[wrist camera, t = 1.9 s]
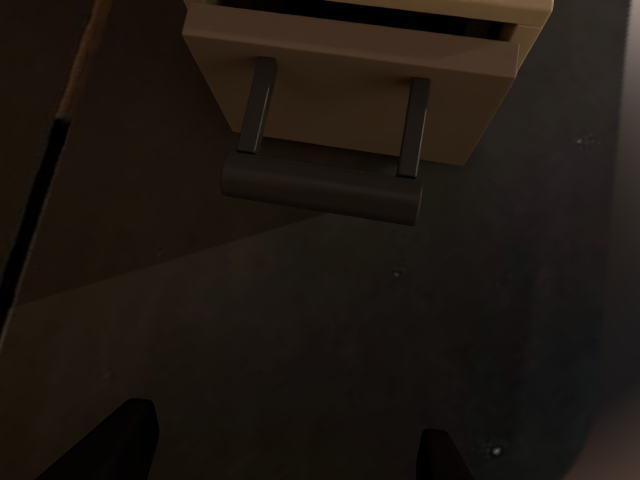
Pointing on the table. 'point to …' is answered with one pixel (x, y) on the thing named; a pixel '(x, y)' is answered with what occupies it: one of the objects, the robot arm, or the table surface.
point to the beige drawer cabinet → (470, 15)
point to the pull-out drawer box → (347, 96)
